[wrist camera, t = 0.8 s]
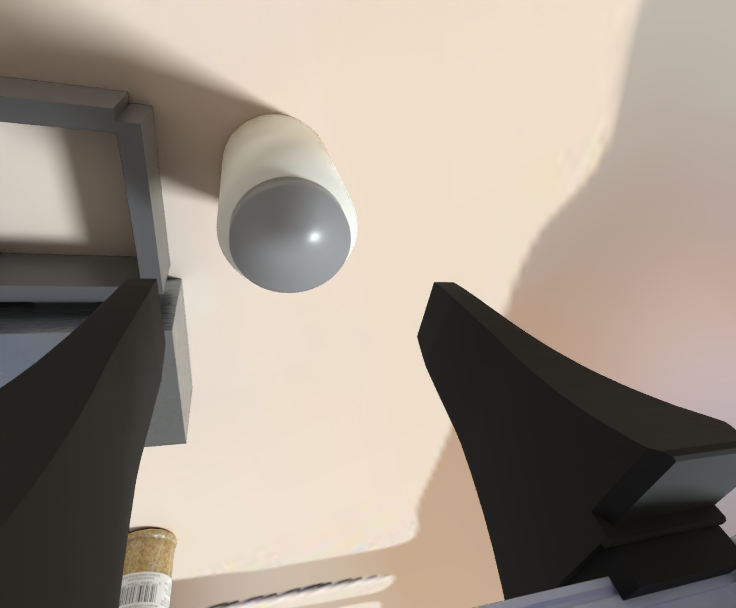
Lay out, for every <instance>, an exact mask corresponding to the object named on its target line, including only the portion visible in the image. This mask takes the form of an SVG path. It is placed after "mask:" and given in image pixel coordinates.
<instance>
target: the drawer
mask: <svg viewBox="0 0 736 608" xmlns="http://www.w3.org/2000/svg"><path fill="white" fill-rule="evenodd" d="M159 298H160V305H161V313H162V320H163V327H164V334H165V341H166V346H165V355H164V363H163V371H162V379H161V383H160V387H159V391H158V395H157V399H156V403H155V407H154V411H153V414H152V418H151V422H150V426H149V430H148V433H147V437H146V441H145V445H144V447H151V446H162V445H173V444H184V443H186V440H187V431H188V422H189V413H190V404H191V395H192V379H191V369H190V359H189V349H188V339H187V329H186V319H185V309H184V299H183V289H182V279H167V281H166V285H165V289H164V293H163V294H159ZM102 303H103V302H97V303H33V302H0V388H1V387H2V386H4V385H5V384H7V383H8V382H10V381H11V380H13V379H14V378H15V377H17V376H18V375H20V374H21V373H22V372H24V371H25V370H26V369H28V368H29V367H30V366H32V365H33V364H34V363H36V362H37V361H38V360H39V359H41V358H42V357H43V356H44V355H45V354H47V353H48V352H49V351H50V350H51V349H53V348H54V347H55V346H56V345H57V344H59V343H60V342H61V341H62V340H63V339H65V338H66V337H67V336H68V335H69V334H70V333H71V332H72V331H74V330H75V329H76V328H77V327H78V326H79V325H80V324H81V323H82V322H83V321H84V320H85V319H86V318H88V317H89V316H90V315H91V314H92V313H93V312H94V311H95V310H96V309H97V308H98V307H99V306H100V305H101V304H102Z"/></svg>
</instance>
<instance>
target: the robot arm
mask: <svg viewBox="0 0 736 608" xmlns="http://www.w3.org/2000/svg"><path fill="white" fill-rule="evenodd" d="M417 338H418V341H419V345H420V349H421V352H422V356H423V359H424V362H425V365H426V368H427V370H428V372H429V375H430V377H431V379H432V381H433V383H434V386H435V388H436V390H437V392H438V394H439V396H440V399H441V401H442V403H443V405H444V407H445V409H446V411H447V414H448V416H449V418H450V420H451V422H452V424H453V426H454V428H455V431H456V433H457V435H458V438H459V440H460V442H461V445H462V448H463V451H464V453H465V457H466V460H467V463H468V465H469V469H470V471H471V474H472V478H473V481H474V484H475V487H476V490H477V494H478V497H479V500H480V504H481V506H482V510H483V514H484V517H485V521H486V525H487V529H488V532H489V536H490V540H491V543H492V547H493V551H494V555H495V559H496V564H497V568H498V572H499V576H500V581H501V585H502V589H503V594H504V599H505V600H504V601H500V602H496V603H491V604H487V605H482V606H479V607H474V608H736V535H735V536H732V537H731V538H729V536H728V535H727V534H726V533H725V532H724V531H723V530H722V528H721V527H720V526H719V525H721V524H723V523H724V522H725V521H726V518H725V516H724V515H723V514H722V513H721V511H720V510H719V509H718V508H717V507H716V506H715V504H716V503H717V502H718V501H719V500H721V499H722V498H723V497H724V496H725V495H726V494H728V493H729V492H730V491H732V490H733V489H734V488H735V487H736V430H735V429H734V428H733V427H732V426H730V425H729V424H727V423H726V422H724V421H721V420H718V419H715V418H712V417H709V416H706V415H703V414H700V413H697V412H693V411H691V410H687V409H684V408H681V407H678V406H675V405H672V404H670V403H667V402H664V401H662V400H659V399H657V398H654V397H652V396H649V395H646V394H644V393H641V392H639V391H636V390H634V389H631V388H629V387H627V386H625V385H622V384H620V383H618V382H616V381H613V380H611V379H609V378H607V377H605V376H603V375H600V374H598V373H596V372H594V371H592V370H590V369H588V368H586V367H584V366H582V365H580V364H578V363H577V362H575V361H573V360H571V359H569V358H567V357H566V356H564V355H562V354H560V353H558V352H557V351H555V350H553V349H552V348H550V347H548V346H547V345H545V344H543V343H542V342H540V341H539V340H537V339H536V338H534V337H532V336H531V335H529V334H528V333H526V332H525V331H523V330H522V329H520V328H519V327H517V326H516V325H515V324H513V323H512V322H510V321H509V320H507V319H506V318H505V317H503V316H502V315H500V314H499V313H497V312H496V311H495V310H493V309H492V308H491V307H489V306H488V305H486V304H485V303H484V302H482V301H481V300H479V299H478V298H477V297H475V296H474V295H472V294H471V293H469V292H468V291H467V290H465V289H464V288H462V287H460V286H459V285H457V284H455V283H454V282H434V284H433V288H432V291H431V294H430V297H429V300H428V304H427V307H426V310H425V313H424V316H423V320H422V323H421V326H420V329H419V332H418V336H417ZM165 346H166V341H165V334H164V327H163V320H162V313H161V305H160V298H159V291H158V284H157V279H145V278H128V279H127V280H126V281H125V282H123V283H122V284H121V285H120V286H119V287H118V288H117V289H116V290H115V291H114V292H113V293H112V294H111V295H110V296H109V297H108V298H107V299H106V300H105V301H104V302H103V303H102V304H101V305H100V306H99V307H98V308H97V309H96V310H95V311H94V312H93V313H92V314H91V315H90V316H89V317H88V318H86V319H85V320H84V321H83V322H82V323H81V324H80V325H79V326H78V327H77V328H76V329H75V330H74V331H72V332H71V333H70V334H69V335H68V336H67V337H66V338H65V339H63V340H62V341H61V342H60V343H59V344H57V345H56V346H55V347H54V348H53V349H51V350H50V351H49V352H48V353H47V354H45V355H44V356H43V357H42V358H41V359H39V360H38V361H37V362H36V363H34V364H33V365H32V366H30V367H29V368H28V369H26V370H25V371H24V372H22V373H21V374H20V375H18V376H17V377H15V378H14V379H13V380H11V381H10V382H8V383H7V384H5V385H4V386H2V387H1V388H0V608H119V603H120V594H121V586H122V578H123V569H124V562H125V554H126V547H127V539H128V532H129V525H130V518H131V511H132V504H133V498H134V491H135V484H136V478H137V474H138V469H139V464H140V460H141V456H142V452H143V449H144V445H145V441H146V437H147V433H148V430H149V426H150V422H151V418H152V414H153V411H154V407H155V403H156V399H157V395H158V391H159V387H160V383H161V379H162V371H163V363H164V355H165Z"/></svg>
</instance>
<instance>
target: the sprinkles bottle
mask: <svg viewBox="0 0 736 608" xmlns="http://www.w3.org/2000/svg"><path fill="white" fill-rule="evenodd" d="M176 544H177V539H176V536H175V535H174V534H172V533H170V532H169V531H165V530H162V529H145V530H139V531H135V532H132V533H129V534H128V539H127V547H126V554H125V562H124V569H123V578H122V586H121V594H120V603H119V608H169V603H170V593H171V585H172V580H171V577H172V568H173V558H174V550H175V547H176Z"/></svg>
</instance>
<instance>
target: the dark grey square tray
mask: <svg viewBox="0 0 736 608" xmlns="http://www.w3.org/2000/svg"><path fill="white" fill-rule="evenodd" d="M0 122H10V123H20V124H30V125H40V126H50V127H61V128H71V129H81V130H91V131H101V132H111V133H117V138H118V144H119V150H120V156H121V162H122V168H123V174H124V180H125V186H126V192H127V199H128V205H129V211H130V217H131V223H132V229H133V235H134V241H135V247H136V253H137V257H125V256H86V255H47V254H8V253H0V302H33V303H97V302H104V301H105V300H106V299H107V298H108V297H109V296H110V295H111V294H112V293H113V292H114V291H115V290H116V289H117V288H118V287H119V286H120V285H121V284H122V283H123V282H125V281H126V280H127V279H128V278H145V279H157V284H158V291H159V294H163V293H164V289H165V285H166V281H167V276H168V272H169V268H170V259H169V250H168V241H167V232H166V224H165V215H164V206H163V198H162V189H161V180H160V171H159V163H158V154H157V145H156V137H155V128H154V119H153V110H152V106H148V105H140V104H131V103H129V99H128V92H123V91H115V90H107V89H99V88H91V87H83V86H75V85H67V84H59V83H51V82H43V81H35V80H27V79H18V78H10V77H2V76H0Z"/></svg>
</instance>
